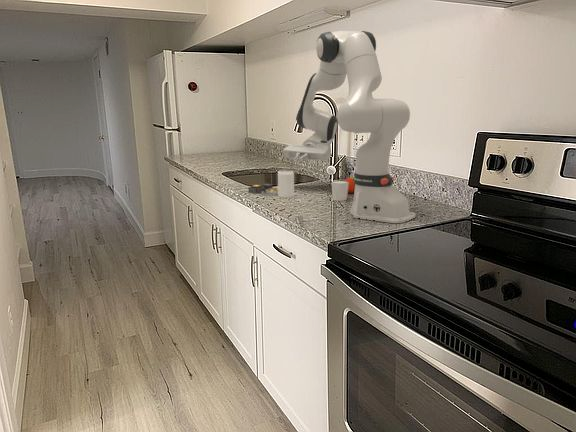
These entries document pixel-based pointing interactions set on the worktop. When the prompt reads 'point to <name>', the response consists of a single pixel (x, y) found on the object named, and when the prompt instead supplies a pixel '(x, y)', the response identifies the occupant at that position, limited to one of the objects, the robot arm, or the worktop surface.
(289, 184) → the can
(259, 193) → the panel
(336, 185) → the white cup
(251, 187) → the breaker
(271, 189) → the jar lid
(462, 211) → the worktop surface
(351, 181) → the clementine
